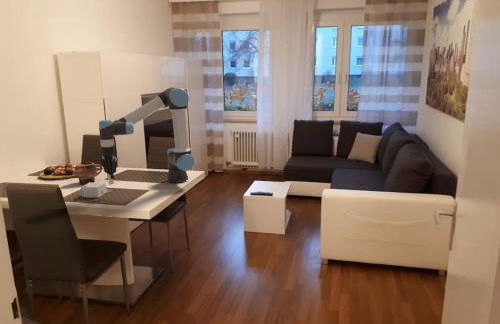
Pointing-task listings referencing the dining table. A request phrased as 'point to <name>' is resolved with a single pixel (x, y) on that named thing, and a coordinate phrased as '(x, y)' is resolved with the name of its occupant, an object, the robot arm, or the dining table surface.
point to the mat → (105, 193)
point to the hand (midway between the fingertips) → (111, 183)
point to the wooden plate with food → (58, 172)
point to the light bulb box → (93, 189)
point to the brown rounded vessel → (86, 172)
